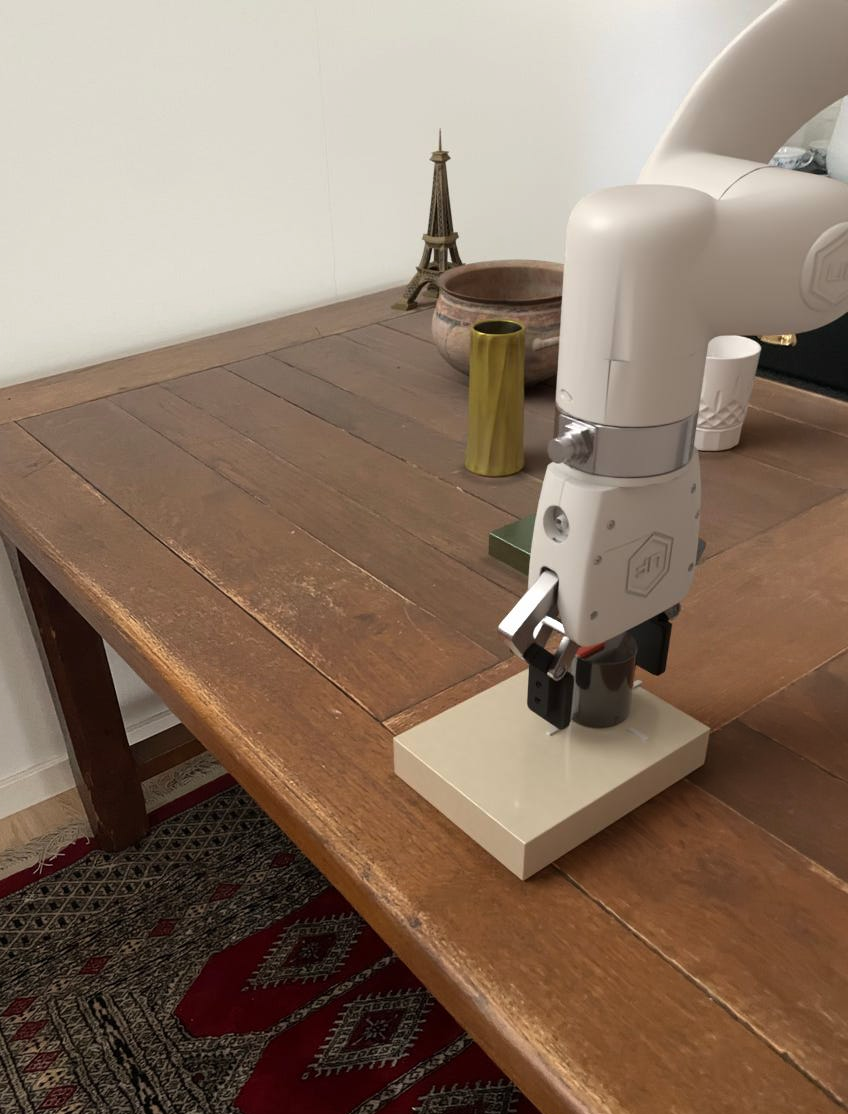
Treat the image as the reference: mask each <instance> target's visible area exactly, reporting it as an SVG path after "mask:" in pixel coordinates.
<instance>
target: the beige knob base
mask: <svg viewBox="0 0 848 1114" xmlns="http://www.w3.org/2000/svg"><path fill="white" fill-rule="evenodd" d="M528 675H529V667H528V668H526V669H524V670H522V671H520V672H518V673H516V674H514V675H512V676H511V677H509V678H507V679H505V680H502V681H500V682H499V683H497V684H495V685H492V686H490V687H489V688H487V689H485V690H483V691H481V692H479V693H477V694H475V695H474V696H472V697H470V698H468V699H466V700H464V701H462V702H460V703H458V704H456V705H454V706H452V707H450V708H448V709H446V710H444V711H443V712H440V713H438V714H437V715H434V716H433V717H431V718H429V719H427V720H425V721H423V722H421V723H419V724H417V725H415V726H414V727H412V728H409V729H408V730H406V731H404V732H402V733H400V734H398V735H396V736H394V737H393V738H392V747H393V748H392V749H393V771H394V772H393V773H394V774H395V775H396V776H397V777H399V778H400V780H402V781H403V782H404V783H406V785H408V786H409V787H410V788H412V790H414V791H415V792H416V793H417V794H418V795H420V796H421V797H422V798H423V799H424V800H425V801H427V802H428V803H429V804H430V805H432V806H433V807H434V808H435V809H436V810H437V811H439V812H440V813H441V814H442V815H443V816H444V817H446V818H447V819H448V820H449V821H451V823H452V824H454V825H455V826H457V827H458V828H459V829H460V830H461V831H462V832H464V833H465V834H466V835H467V836H468V837H469V838H471V839H472V840H473V841H475V842H476V843H477V844H478V845H479V846H480V847H481V848H482V849H484V850H485V851H486V852H487V853H489V854H490V856H492V857H493V858H494V859H496V861H498V862H500V864H502V865H503V866H504V867H505V868H507V870H509V872H511V873H512V874H514V875H515V876H516V877H517V878H519V880H521V881H522V882H524V881H526V880H528V879H529V878H530V877H532V876H533V875H535V874H536V873H539V872H540V871H541V870H542V869H544V868H546V867H547V866H549V865H551V863H553V862H555V861H557V860H558V859H560V858H562V857H563V856H564V855H565V854H567V853H569V852H570V851H572V850H573V849H575V848H577V847H578V846H580V845H581V844H583V843H584V842H586V841H588V840H589V839H591V838H592V837H594V836H595V835H597V834H598V833H600V832H601V831H603V830H605V829H606V828H607V827H609V826H611V825H612V824H614V823H615V822H617V821H618V820H620V819H621V818H623V817H624V816H626V815H628V814H629V813H631V812H632V811H634V810H635V809H637V808H639V807H640V806H642V805H644V804H645V803H646V802H648V801H649V800H651V799H652V798H654V797H656V796H657V795H659V794H660V793H662V792H664V791H665V790H666V789H668V788H669V787H671V786H672V785H675V783H677V782H679V781H680V780H682V779H683V778H685V777H686V776H688V775H689V774H691V773H693V772H694V771H696V770H697V769H699V768H700V767H702V766H704V764H705V760H706V756H707V749H708V745H709V739H710V734H711V728H710V727H709V726H708V725H706V724H704V723H702V722H701V721H699V720H697V719H696V718H694V717H693V716H691V715H689V714H687V713H685V712H684V711H682V709H681V710H680V709H679V708H677V707H676V706H674V705H672V704H671V703H669V702H667V701H665V700H664V699H662V698H660V697H659V696H657V695H655V694H653V693H652V692H651V691H648V690H647V689H645V688H643V687H641V685H642V684H643V681H642V680H640V679H636V680H634V686H633V694H632V702H631V710H630V714H629V716H628V717H627V719H626V720H625V721H623V722H622V723H620V724H618V725H616V726H612V727H607V728H593V727H587V726H583V725H580V724H578V723H576V722H574V721H572V720H571V722H570V725H569V726H568V727H567V728H565V729H563V730H559V729H558V728H556V727H555V726H553V725H552V724H550V723H549V722H547V721H546V720H544V719H543V718H541V717H540V716H538V715H537V714H535V713H534V712H532V711H531V710H530V709H529V708H528V706H527V693H528Z"/></svg>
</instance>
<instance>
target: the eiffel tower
mask: <svg viewBox="0 0 848 1114" xmlns="http://www.w3.org/2000/svg"><path fill="white" fill-rule="evenodd" d="M438 131H439V132H438V150H435V151H431V154H432V155H431V157H430V158H429V161H430V162H433V163H434V165H433V166H434V167H433V174H432V175H433V177H432V185H431V186H432V188H431V198H430V205H429V206H430V207H429V216H428V223H427V230H426V231H427V233H423V234H422V238H421V240H422V241H423V242H424V247H423V251H422V256H421V259H420V262H419V265H418V266H415V270H416V273H414V276H413V277H412V279H411V280H410V281H409V282H408V284H407V286H406V287H405V289H404V290H403V292H402V293H401V294H400V295H399V298H398V301H397V302H395V304H392V305H391V306H390V308H391V309H394V310H399V311H404V312H405V311H409V310H411V309H414V308H416V307H418V301H416V299H417V298H418V296H419V294H420V293H421V292H422V290H423V288H424V287H425V286H426V290H425V291H423V292H422V296H423V297H424V296H425V297H430V298H435V299H438V298H439V295H440V293H441V290H442V288H440V286H439V284H438V282H437V281H438V278H439V276H440V275H441V274H443V273H444V272H446V271H448V270H450V269H452V268H455V267H459V266H462V265H466V264H467V263H466V262H464V263H463V261H462V259H461V257H460V254H459V250H458V245H457V239H460V236H459V233H458V231H454V224H453V215H452V207H451V198H450V190H449V181H448V172H447V171H448V170H447V162H448V161H449V160H451V159H452V158H451V156H450V155H449V153H450V151H447V150H443V149H442V148H443V147H442V129H439V130H438ZM432 254H433V261H431V258H432ZM448 256H449V257H450V261H448V260H449V258H448Z"/></svg>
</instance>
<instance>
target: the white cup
mask: <svg viewBox="0 0 848 1114" xmlns="http://www.w3.org/2000/svg"><path fill="white" fill-rule="evenodd" d="M761 352H762V346H761V345H760V344H759V342H757V341H755V340H753V339H751V338H748V337H746V336H742V335H737V336H718V337H715V338H713V339H712V340H711V341H710V342H709V343H708V349H707V356H706V363H705V370H704V377H703V384H702V391H701V397H700V404H699V413H698V420H697V427H696V434H695V441H694V446H695V447H696V448H697V450H698V451H702V452H719V451H725V450H730V449H733V448H734V447H736V446H737V445H739V442H740V439H741V433H742V430H743V429H742V428H743V424H744V422H745V419H746V417H747V413H748V408H749V405H750V401H751V395H752V393H753V388H754V385H755V384H754V383H755V380H756V374H757V370H758V367H759V366H758V365H759V360H760V356H761Z"/></svg>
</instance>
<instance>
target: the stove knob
mask: <svg viewBox="0 0 848 1114" xmlns="http://www.w3.org/2000/svg"><path fill="white" fill-rule="evenodd" d="M637 654H638V644H637V641H636V640H635V638H634V637H633V636H632V635H631V634H629V633H628V632H626V631H625V632H623V633H621V634H619V635H617V636H615V637H613V638H611V639H609V640H607V641H604V642H602V643H600V644H597V645H594V646H590V647H583V646H580V647H579V649H578V651H577V653H576V655H575V657H574V659H573V661H572V663H571V665H570V667H569V669H568V672H569V673H571V674H572V675H573V676H574V688H573V700H572V711H571V720H572V721H574V722H576V723H578V724H580V725H583V726H587V727H593V728H607V727H612V726H616V725H618V724H620V723H622V722H623V721H625V720H626V719H627V717H628V716H629V714H630V710H631V702H632V694H633V686H634V682H635V677H636V669H637V665H636V662H637Z"/></svg>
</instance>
